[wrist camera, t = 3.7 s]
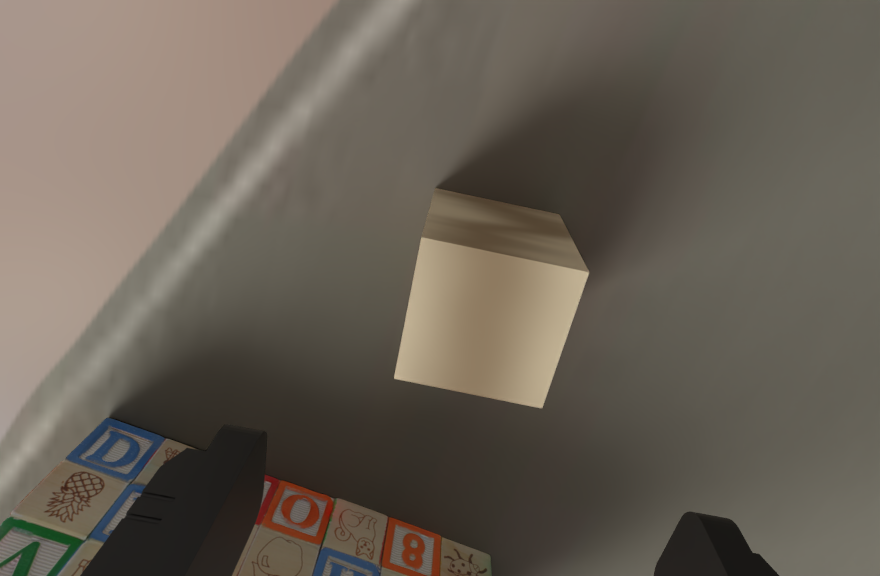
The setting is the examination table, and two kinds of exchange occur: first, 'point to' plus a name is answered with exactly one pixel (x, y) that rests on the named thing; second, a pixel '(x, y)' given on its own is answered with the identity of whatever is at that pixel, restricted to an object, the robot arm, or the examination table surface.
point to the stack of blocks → (270, 543)
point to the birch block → (490, 299)
